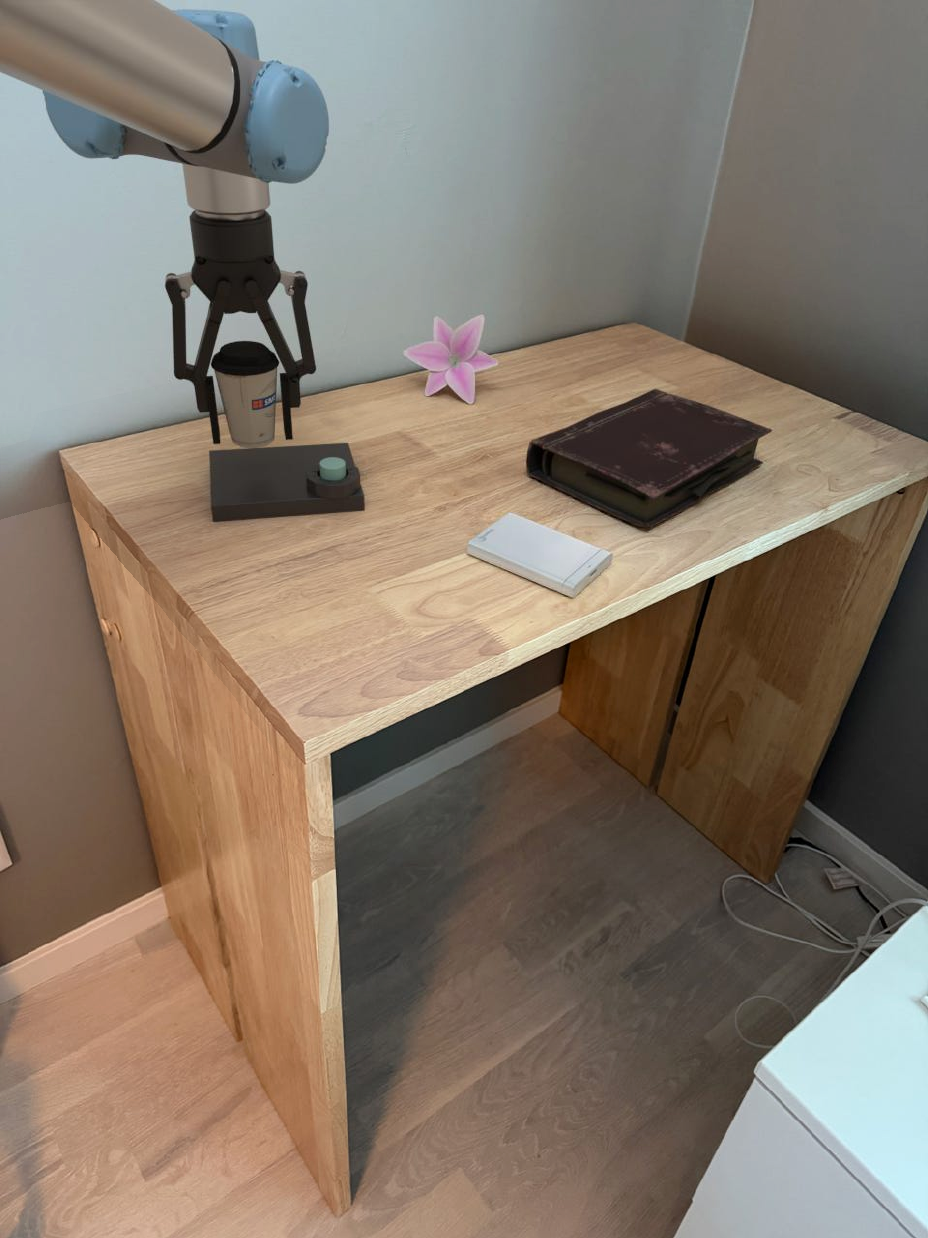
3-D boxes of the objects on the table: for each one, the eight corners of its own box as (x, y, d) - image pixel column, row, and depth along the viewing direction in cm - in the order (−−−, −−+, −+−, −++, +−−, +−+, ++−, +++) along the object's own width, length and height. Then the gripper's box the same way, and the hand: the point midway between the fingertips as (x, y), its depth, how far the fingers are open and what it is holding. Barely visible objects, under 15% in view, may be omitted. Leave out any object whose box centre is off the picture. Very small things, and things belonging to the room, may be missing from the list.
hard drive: (466, 541, 89) (573, 585, 83) (510, 510, 94) (614, 549, 89) (466, 555, 90) (571, 600, 84) (509, 523, 95) (611, 563, 90)
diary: (522, 474, 104) (526, 435, 101) (644, 419, 119) (651, 383, 116) (651, 537, 94) (660, 495, 91) (767, 468, 109) (778, 430, 106)
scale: (213, 523, 92) (208, 493, 90) (211, 465, 102) (207, 437, 100) (365, 511, 95) (364, 483, 93) (348, 456, 106) (347, 429, 104)
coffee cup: (206, 443, 95) (194, 352, 89) (245, 420, 100) (236, 332, 94) (261, 458, 93) (252, 366, 87) (297, 433, 98) (291, 345, 92)
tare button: (321, 482, 94) (320, 469, 93) (318, 470, 96) (317, 457, 95) (347, 480, 94) (347, 467, 93) (344, 468, 97) (343, 456, 96)
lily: (394, 388, 126) (392, 342, 117) (447, 339, 130) (449, 291, 121) (458, 434, 123) (461, 391, 114) (510, 383, 127) (517, 338, 118)
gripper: (331, 201, 87) (339, 417, 101) (120, 200, 83) (158, 426, 97) (341, 219, 82) (348, 446, 95) (115, 220, 77) (156, 457, 91)
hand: (252, 436), depth 96 cm, fingers closed on coffee cup, 7 cm apart
